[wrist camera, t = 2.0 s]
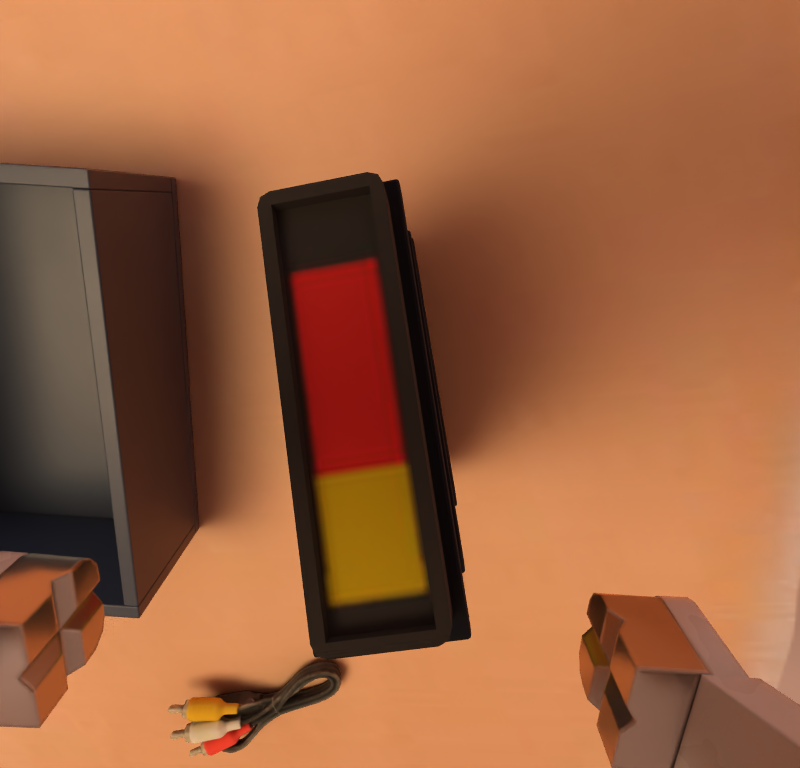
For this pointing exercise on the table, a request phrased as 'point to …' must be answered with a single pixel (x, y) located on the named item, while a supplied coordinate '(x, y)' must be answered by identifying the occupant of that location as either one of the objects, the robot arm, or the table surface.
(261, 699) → the composite cable
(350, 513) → the magazine
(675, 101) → the table surface
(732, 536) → the table surface
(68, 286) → the box
